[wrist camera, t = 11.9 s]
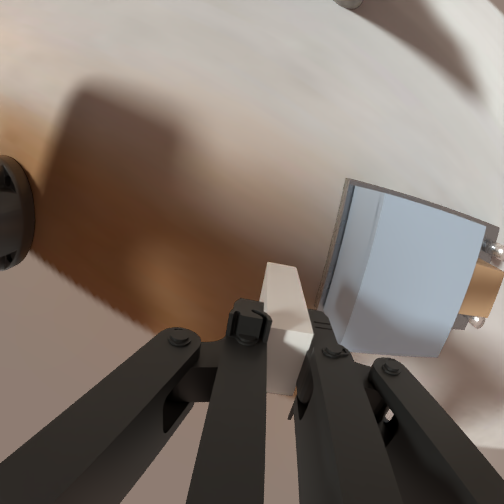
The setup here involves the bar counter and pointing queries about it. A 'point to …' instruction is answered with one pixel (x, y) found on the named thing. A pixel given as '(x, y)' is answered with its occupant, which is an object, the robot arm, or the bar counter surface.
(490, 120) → the bar counter surface
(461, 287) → the housing cover
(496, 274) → the light brown cube
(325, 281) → the housing base
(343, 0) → the hip flask
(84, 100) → the bar counter surface
